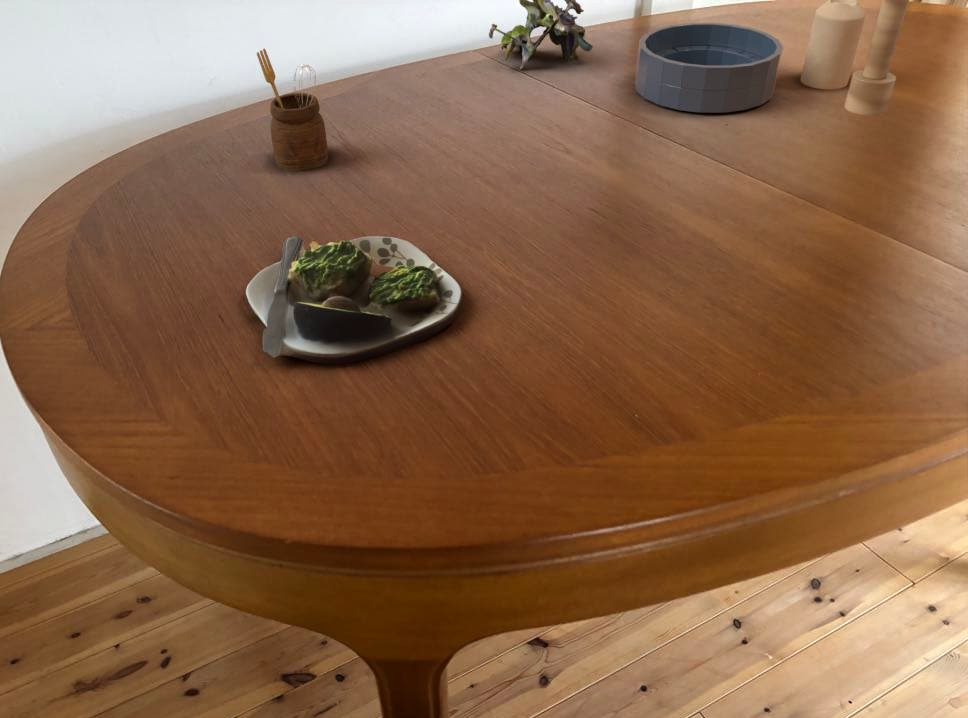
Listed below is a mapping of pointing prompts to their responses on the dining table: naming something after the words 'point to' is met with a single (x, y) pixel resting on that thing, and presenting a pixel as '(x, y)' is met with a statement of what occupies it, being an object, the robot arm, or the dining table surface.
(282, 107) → the utensil holder
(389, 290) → the avocado toast plate
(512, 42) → the passion flower
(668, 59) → the bowl
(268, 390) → the dining table surface
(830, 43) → the cream bottle
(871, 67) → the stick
